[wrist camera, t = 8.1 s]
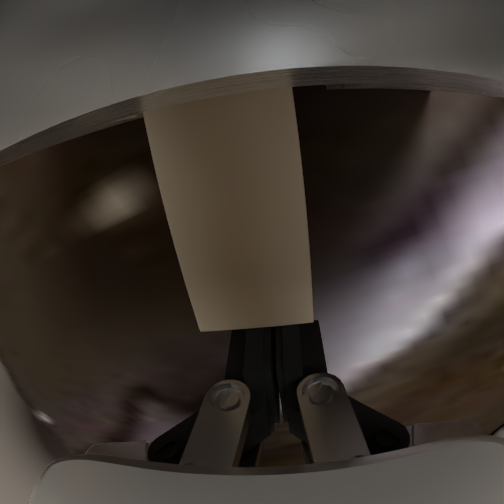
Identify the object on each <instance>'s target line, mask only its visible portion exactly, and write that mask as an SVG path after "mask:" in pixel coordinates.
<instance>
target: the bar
mask: <svg viewBox="0 0 504 504" xmlns="http://www.w3.org/2000/svg"><path fill="white" fill-rule="evenodd" d="M143 116H144V121H145V126H146V130H147V135H148V140H149V145H150V149H151V154H152V158H153V163H154V167H155V171H156V176H157V180H158V184H159V188H160V192H161V197H162V201H163V205H164V208H165V212H166V216H167V220H168V224H169V228H170V231H171V235H172V239H173V243H174V246H175V250H176V253H177V257H178V260H179V264H180V267H181V271H182V274H183V278H184V281H185V284H186V288H187V291H188V294H189V298H190V301H191V304H192V307H193V310H194V314H195V317H196V320H197V323H198V326H199V329H200V332H201V331H219V330H235V329H248V328H260V327H272V326H282V325H292V324H303V323H312V322H314V318H313V297H312V280H311V264H310V250H309V236H308V224H307V212H306V201H305V191H304V181H303V171H302V162H301V153H300V145H299V136H298V128H297V121H296V113H295V106H294V98H293V91H292V87H286V88H276V89H267V90H259V91H251V92H244V93H237V94H231V95H224V96H219V97H213V98H207V99H202V100H197V101H192V102H187V103H182V104H178V105H173V106H169V107H165V108H160V109H156V110H152V111H148V112H145V113H143Z"/></svg>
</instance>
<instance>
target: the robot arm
mask: <svg viewBox="0 0 504 504" xmlns="http://www.w3.org/2000/svg"><path fill="white" fill-rule="evenodd" d="M279 392H280V399H281V405H282V411H283V418H284V422H289V429H290V433H292V434H293V435H295V436H296V437H298V438H299V439H300V440H301V445H302V449H303V454H304V458H305V462H306V464H305V465H292V466H276V467H259V463H260V458H261V454H262V449H263V440H264V439H265V438H266V437H268V436H269V435H270V434H271V431H274V423H279V422H280V401H279ZM28 504H504V438H501V437H497V436H491V435H482V433H481V431H480V428H479V427H478V426H477V424H476V423H474V422H472V421H468V420H461V421H450V422H437V423H419V424H414V425H413V426H407V427H405V426H403V425H402V424H401V423H399V422H397V421H395V420H393V419H391V418H389V417H387V416H385V415H383V414H381V413H379V412H377V411H376V410H374V409H372V408H370V407H368V406H366V405H364V404H362V403H360V402H359V401H357V400H355V399H353V398H351V397H349V396H348V395H347V393H346V390H345V388H344V385H343V383H342V382H341V380H340V379H339V378H337V377H336V376H334V375H332V374H329V373H327V368H326V362H325V356H324V350H323V344H322V338H321V332H320V327H319V322H318V320H314V322H312V323H303V324H292V325H282V326H276V327H275V326H272V327H260V328H248V329H235V330H232V334H231V340H230V347H229V354H228V361H227V368H226V375H225V380H224V381H221V382H218V383H216V384H214V385H213V386H212V387H211V388H210V389H209V390H208V391H207V393H206V395H205V397H204V400H203V403H202V405H201V408H200V410H198V411H197V412H196V413H194V414H193V415H191V416H190V417H188V418H187V419H185V420H184V421H182V422H181V423H179V424H178V425H176V426H175V427H173V428H172V429H170V430H169V431H167V432H165V433H164V434H162V435H161V436H159V437H158V438H156V439H155V440H154V441H153V442H152V443H147V442H146V441H135V442H121V443H102V444H96V445H94V446H92V447H90V448H89V449H88V451H87V452H86V454H82V455H73V456H67V457H63V458H60V459H57V460H55V461H53V462H52V463H50V465H48V466H47V467H46V469H45V470H44V471H43V473H42V474H41V476H40V478H39V480H38V482H37V484H36V486H35V488H34V490H33V493H32V495H31V498H30V501H29V503H28Z"/></svg>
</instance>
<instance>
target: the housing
mask: <svg viewBox="0 0 504 504" xmlns="http://www.w3.org/2000/svg"><path fill="white" fill-rule="evenodd" d="M311 85H326V89H357V88H382V89H412V90H428V91H445V92H459V93H470V94H480V95H488V96H496V97H503V98H504V0H0V166H2V165H4V164H6V163H9V162H11V161H13V160H16V159H18V158H21V157H23V156H26V155H28V154H31V153H34V152H36V151H39V150H42V149H44V148H47V147H50V146H53V145H56V144H59V143H61V142H64V141H67V140H71V139H74V138H77V137H80V136H83V135H86V134H89V133H92V132H95V131H98V130H102V129H105V128H108V127H111V126H115V125H118V124H122V123H125V122H129V121H132V120H136V119H140V118H144V116H143V113H145V112H148V111H152V110H156V109H160V108H165V107H169V106H173V105H178V104H182V103H187V102H192V101H197V100H202V99H207V98H213V97H219V96H224V95H231V94H237V93H244V92H251V91H259V90H267V89H276V88H286V87H297V86H311Z"/></svg>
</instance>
